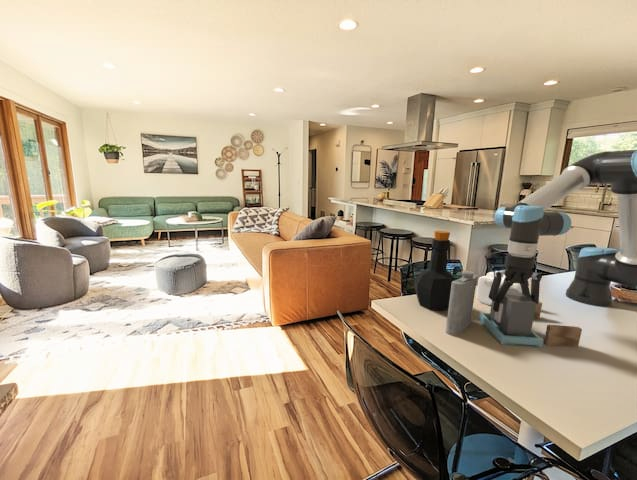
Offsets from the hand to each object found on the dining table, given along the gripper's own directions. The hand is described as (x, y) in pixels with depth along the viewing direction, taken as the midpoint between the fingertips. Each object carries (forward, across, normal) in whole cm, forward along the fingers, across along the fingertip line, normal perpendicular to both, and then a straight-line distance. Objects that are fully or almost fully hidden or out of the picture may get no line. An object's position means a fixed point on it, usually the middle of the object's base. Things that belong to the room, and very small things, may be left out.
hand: (509, 321), depth 100 cm
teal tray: (+4, 0, 0) cm, 4 cm away
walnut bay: (+4, +13, +4) cm, 14 cm away
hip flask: (+4, -15, +1) cm, 16 cm away
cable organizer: (+4, +8, +24) cm, 26 cm away
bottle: (+4, -19, +19) cm, 27 cm away
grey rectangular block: (+2, 0, 0) cm, 2 cm away
